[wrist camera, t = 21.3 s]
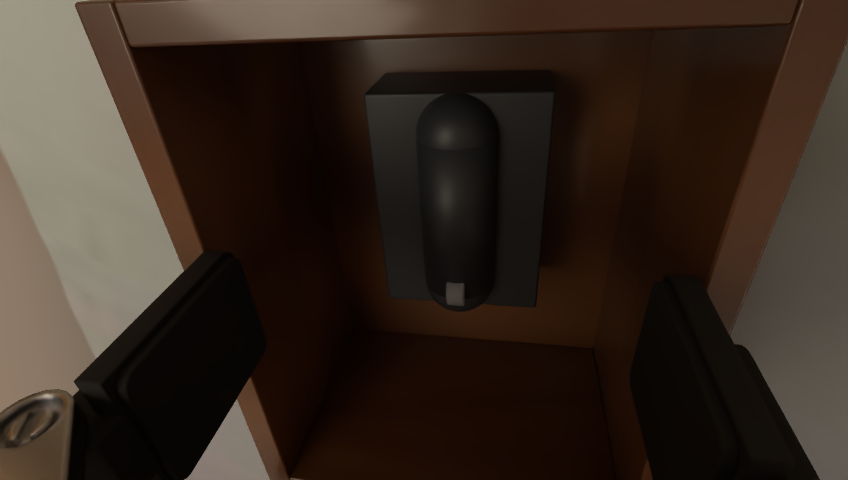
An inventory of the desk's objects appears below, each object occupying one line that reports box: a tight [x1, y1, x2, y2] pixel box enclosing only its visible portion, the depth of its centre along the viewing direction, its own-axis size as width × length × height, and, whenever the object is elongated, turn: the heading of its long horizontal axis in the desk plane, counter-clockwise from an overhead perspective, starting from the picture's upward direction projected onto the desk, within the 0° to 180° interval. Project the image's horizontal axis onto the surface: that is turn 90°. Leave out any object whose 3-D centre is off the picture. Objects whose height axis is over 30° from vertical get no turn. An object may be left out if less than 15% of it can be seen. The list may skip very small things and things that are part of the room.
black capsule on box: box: [364, 70, 556, 312], centre depth 15 cm, size 8×5×4 cm
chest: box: [75, 0, 848, 480], centre depth 15 cm, size 16×13×8 cm
